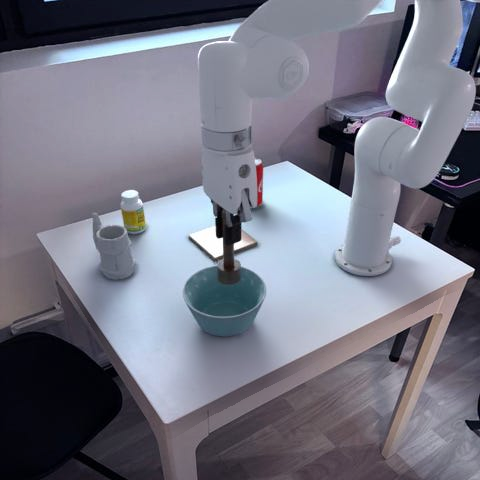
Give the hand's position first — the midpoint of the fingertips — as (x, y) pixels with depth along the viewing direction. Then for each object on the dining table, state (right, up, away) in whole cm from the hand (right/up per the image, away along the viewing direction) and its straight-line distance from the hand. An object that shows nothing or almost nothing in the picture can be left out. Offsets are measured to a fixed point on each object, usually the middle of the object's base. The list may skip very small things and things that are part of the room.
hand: (228, 238), depth 88 cm
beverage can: (+5, +17, +46) cm, 49 cm away
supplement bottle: (-24, +8, +37) cm, 45 cm away
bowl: (-1, -15, +11) cm, 18 cm away
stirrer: (0, -6, +6) cm, 9 cm away
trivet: (-2, +5, +33) cm, 33 cm away
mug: (-27, -2, +25) cm, 36 cm away
